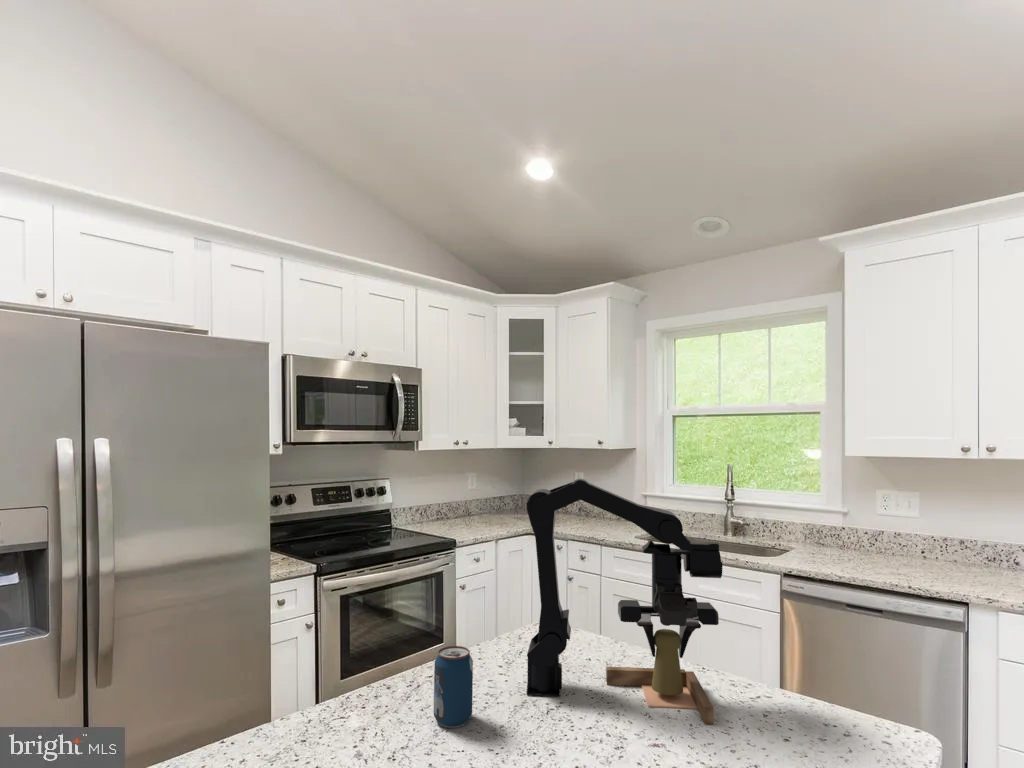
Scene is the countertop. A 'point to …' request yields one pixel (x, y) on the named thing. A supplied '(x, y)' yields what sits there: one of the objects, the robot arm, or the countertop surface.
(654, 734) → the countertop surface
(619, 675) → the corner arena
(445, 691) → the soda can
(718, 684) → the countertop surface
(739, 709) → the countertop surface
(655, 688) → the olive pepper mill
